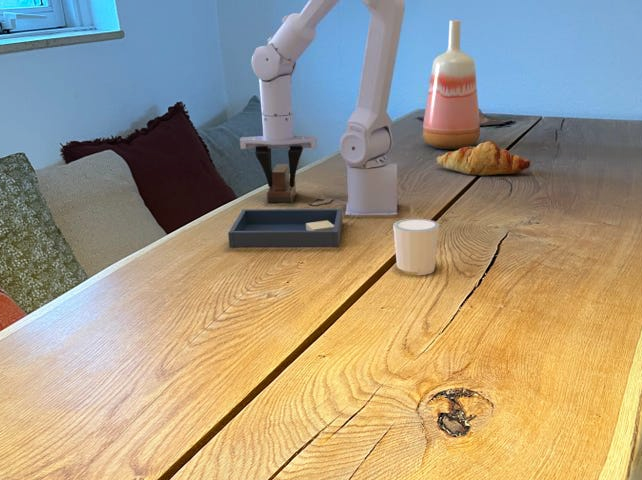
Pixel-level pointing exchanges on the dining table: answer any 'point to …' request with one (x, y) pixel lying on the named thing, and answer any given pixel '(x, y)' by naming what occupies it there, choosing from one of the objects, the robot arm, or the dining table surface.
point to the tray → (284, 228)
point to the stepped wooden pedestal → (281, 186)
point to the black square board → (484, 119)
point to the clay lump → (320, 226)
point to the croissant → (483, 160)
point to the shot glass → (416, 245)
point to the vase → (452, 98)
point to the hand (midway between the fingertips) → (281, 185)
